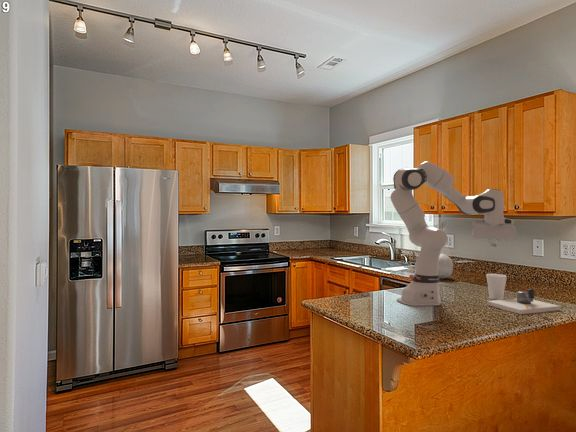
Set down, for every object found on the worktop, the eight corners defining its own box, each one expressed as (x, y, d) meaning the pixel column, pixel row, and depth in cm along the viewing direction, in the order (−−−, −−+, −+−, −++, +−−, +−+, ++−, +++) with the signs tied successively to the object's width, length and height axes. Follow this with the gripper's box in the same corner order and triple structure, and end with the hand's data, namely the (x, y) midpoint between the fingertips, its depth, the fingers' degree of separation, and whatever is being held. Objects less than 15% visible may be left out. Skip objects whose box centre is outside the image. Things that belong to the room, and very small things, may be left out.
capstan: (515, 300, 186) (515, 283, 186) (529, 301, 184) (529, 284, 184) (524, 307, 170) (524, 289, 170) (539, 309, 168) (539, 290, 168)
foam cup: (495, 301, 192) (496, 276, 192) (482, 297, 201) (482, 274, 201) (510, 300, 195) (510, 276, 195) (496, 296, 204) (496, 273, 204)
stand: (519, 314, 167) (520, 309, 167) (487, 304, 185) (487, 300, 185) (559, 310, 176) (560, 305, 176) (525, 301, 193) (525, 297, 193)
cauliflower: (426, 264, 284) (428, 241, 272) (456, 279, 267) (460, 256, 255) (409, 277, 274) (411, 254, 263) (439, 293, 257) (443, 270, 245)
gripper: (472, 220, 191) (471, 246, 191) (517, 220, 183) (517, 248, 183) (471, 220, 196) (470, 245, 196) (515, 220, 188) (515, 247, 188)
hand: (493, 246), depth 189 cm, fingers closed
